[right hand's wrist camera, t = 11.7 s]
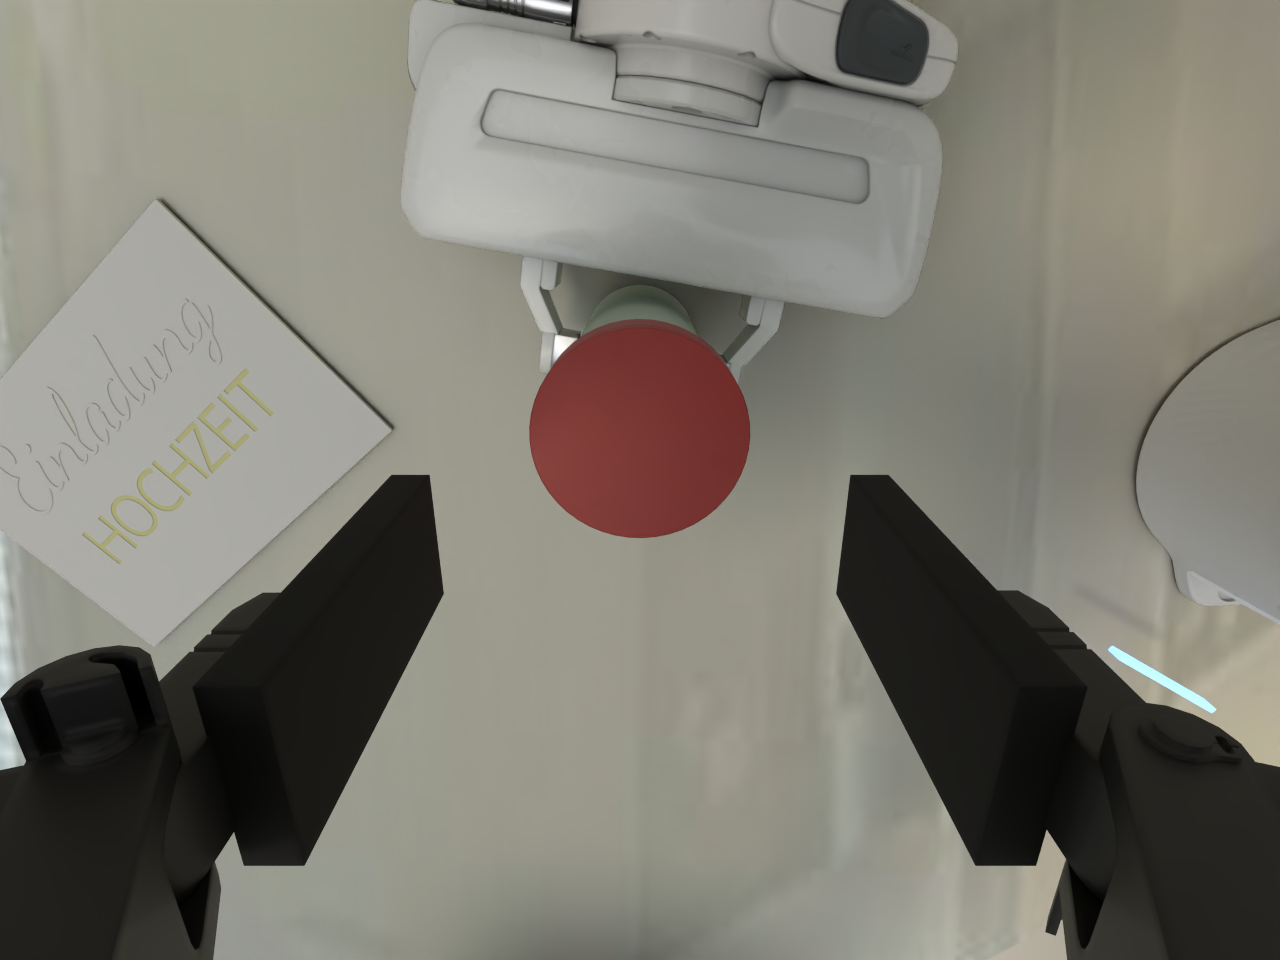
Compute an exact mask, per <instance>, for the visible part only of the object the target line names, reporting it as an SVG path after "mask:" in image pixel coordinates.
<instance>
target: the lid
mask: <svg viewBox="0 0 1280 960" xmlns="http://www.w3.org/2000/svg"><path fill="white" fill-rule="evenodd" d="M529 430H530V446H531V453H532V457H533V460H534V464H535V467H536V470H537V472H538V474H539V476H540V478H541V481H542V482H543V484H544V485H545V487H546V489H547V490H548V492H549V493H550V494H551V496H552V497H553V498H554V499H555V500H556V502H557V503H558V504H559V505H560V506H561V507H562V508H564V509H565V510H566V511H567V512H568V513H569V514H571V515H572V516H573V517H575V518H576V519H577V520H579V521H581V522H583V523H584V524H586V525H588V526H590V527H592V528H595V529H597V530H599V531H602V532H605V533H609V534H612V535H616V536H623V537H631V538H648V537H657V536H662V535H667V534H671V533H674V532H677V531H680V530H683V529H685V528H687V527H689V526H691V525H694V524H695V523H697V522H699V521H700V520H702V519H703V518H705V517H706V516H708V515H709V514H710V513H711V512H713V511H714V510H715V509H716V508H717V507H718V506H719V505H720V504H721V503H722V502H723V501H724V500H725V499H726V498H727V496H728V495H729V494H730V492H731V491H732V489H733V488H734V486H735V485H736V483H737V481H738V479H739V477H740V476H741V473H742V470H743V468H744V465H745V463H746V459H747V455H748V450H749V442H750V422H749V416H748V410H747V406H746V403H745V400H744V397H743V394H742V392H741V390H740V388H739V386H738V384H737V382H736V380H735V378H734V376H733V375H732V373H731V371H730V369H729V368H728V366H727V365H726V363H725V362H724V360H723V359H722V358H721V357H720V356H719V354H718V353H717V352H716V351H715V350H714V349H713V348H712V347H711V346H710V345H709V344H707V343H706V342H705V341H704V340H703V339H701V338H700V337H698V336H697V335H695V334H693V333H692V332H690V331H688V330H686V329H684V328H682V327H679V326H677V325H673V324H670V323H667V322H663V321H657V320H652V319H630V320H621V321H617V322H613V323H609V324H606V325H603V326H601V327H598V328H595V329H594V330H592V331H590V332H588V333H586V334H584V335H583V336H581V337H580V338H579V339H577V340H576V341H574V342H573V343H572V344H571V345H570V346H569V347H568V348H567V349H566V350H564V351H563V352H562V354H561V355H560V356H559V357H558V359H557V360H556V361H555V362H554V364H553V366H552V367H551V369H550V371H549V372H548V374H547V376H546V377H545V379H544V381H543V383H542V385H541V386H540V389H539V391H538V393H537V396H536V398H535V401H534V404H533V408H532V412H531V419H530V427H529Z"/></svg>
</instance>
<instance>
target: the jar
mask: <svg viewBox="0 0 1280 960" xmlns="http://www.w3.org/2000/svg"><path fill="white" fill-rule="evenodd" d="M630 319H652V320H657V321H663V322H667V323H670V324H673V325H677V326H679V327H682V328H684V329H686V330H688V331H690V332H692V333H693V334H695V335H697V332H696V330H695V328H694V326H693V324H692V322H691V319H690V317H689V315H688V313H687V311H686V310H685V308H684V307H683V306H682V304H681V303H680V302H679V301H678V300H677V299H676V298H675V297H674V296H672V295H671V294H669V293H668V292H666V291H664V290H662V289H660V288H657V287H654V286H649V285H631V286H626V287H623V288H620V289H618V290H616V291H614V292H612V293H610V294H609V295H608V296H606V297H605V298H604V299H603V300H602V301H601V302H600V303H599V304H598V305H597V307H596V308H595V310H594V311H593V313H592V315H591V317H590V319H589V321H588V323H587V325H586V328H585V330H584V332H583V334H582V336H583V335H584V334H586V333H588V332H590V331H592V330H594V329H595V328H598V327H601V326H603V325H606V324H609V323H613V322H617V321H621V320H630ZM697 336H698V335H697Z"/></svg>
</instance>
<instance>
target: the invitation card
mask: <svg viewBox="0 0 1280 960" xmlns="http://www.w3.org/2000/svg"><path fill="white" fill-rule="evenodd" d="M392 430H393V429H392V428H391V427H390V426H389V425H388V424H387V423H386V422H385V421H384V420H383V419H382V418H381V417H380V416H379V415H378V414H377V413H376V412H375V411H374V410H373V409H372V408H371V407H370V406H369V405H368V404H367V403H366V402H365V401H364V400H363V399H362V398H361V397H360V396H359V395H358V394H357V393H356V392H355V391H354V390H352V389H351V388H350V387H349V386H348V385H347V384H346V383H345V382H344V381H343V380H342V379H341V378H340V377H339V376H338V375H337V374H336V373H335V372H334V371H333V370H332V369H331V368H330V367H329V366H328V365H327V364H326V363H325V362H324V361H323V360H322V359H321V358H320V357H319V356H318V355H317V354H316V353H315V352H314V351H313V350H312V349H311V348H310V347H309V346H308V345H307V344H306V343H305V342H304V341H303V340H302V339H301V338H300V337H299V336H297V335H296V334H295V333H294V332H293V331H292V330H291V329H290V328H289V327H288V326H287V325H286V324H285V323H284V322H283V321H282V320H281V319H280V318H279V317H278V316H277V315H276V314H275V313H274V312H273V311H272V310H271V309H270V308H269V307H268V306H267V305H266V304H265V303H264V302H263V301H262V300H261V299H260V298H259V297H258V296H257V295H256V294H255V293H254V292H253V291H252V290H251V289H250V288H249V287H248V286H247V285H246V284H245V283H244V282H243V281H241V280H240V279H239V278H238V277H237V276H236V275H235V274H234V273H233V272H232V271H231V270H230V269H229V268H228V267H227V266H226V265H225V264H224V263H223V262H222V261H221V260H220V259H219V258H218V257H217V256H216V255H215V254H214V253H213V252H212V251H211V250H210V249H209V248H208V247H207V246H206V245H205V244H204V243H203V242H202V241H201V240H200V239H199V238H198V237H197V236H196V235H195V234H194V233H193V232H192V231H191V230H190V229H189V228H188V227H186V226H185V225H184V224H183V223H182V222H181V221H180V220H179V219H178V218H177V217H176V216H175V215H174V214H173V213H172V212H171V211H170V210H169V209H168V208H167V207H166V206H165V205H164V204H163V203H162V202H161V201H160V200H159V199H155V200H154V201H153V202H152V203H151V205H150V206H149V207H148V208H147V209H146V210H145V212H144V213H143V214H142V215H141V216H140V217H139V219H138V220H137V221H136V222H135V223H134V224H133V226H132V227H131V228H130V229H129V230H128V231H127V233H126V234H125V235H124V236H123V237H122V238H121V240H120V241H119V242H118V243H117V244H116V245H115V247H114V248H113V249H112V250H111V251H110V252H109V254H108V255H107V256H106V257H105V258H104V259H103V261H102V262H101V263H100V264H99V265H98V266H97V268H96V269H95V270H94V271H93V272H92V273H91V275H90V276H89V277H88V278H87V279H86V280H85V282H84V283H83V284H82V285H81V286H80V287H79V289H78V290H77V291H76V292H75V293H74V294H73V296H72V297H71V298H70V299H69V300H68V301H67V303H66V304H65V305H64V306H63V307H62V308H61V310H60V311H59V312H58V313H57V314H56V315H55V317H54V318H53V319H52V320H51V321H50V322H49V324H48V325H47V326H46V327H45V328H44V329H43V331H42V332H41V333H40V334H39V335H38V336H37V338H36V339H35V340H34V341H33V342H32V343H31V344H30V346H29V347H28V348H27V349H26V350H25V351H24V353H23V354H22V355H21V356H20V357H19V358H18V360H17V361H16V362H15V363H14V364H13V365H12V367H11V368H10V369H9V370H8V371H7V372H6V374H5V375H4V376H3V377H2V378H1V379H0V530H1V531H2V532H4V533H5V534H6V535H8V536H9V537H10V538H12V539H13V540H14V541H15V542H17V543H18V544H19V545H21V546H22V547H23V548H25V549H26V550H27V551H29V552H30V553H31V554H33V555H34V556H35V557H36V558H38V559H39V560H40V561H42V562H43V563H44V564H46V565H47V566H48V567H50V568H51V569H52V570H53V571H55V572H56V573H57V574H59V575H60V576H61V577H63V578H64V579H65V580H67V581H68V582H69V583H70V584H72V585H73V586H74V587H76V588H77V589H78V590H80V591H81V592H82V593H84V594H85V595H86V596H88V597H89V598H90V599H91V600H93V601H94V602H95V603H97V604H98V605H99V606H101V607H102V608H103V609H105V610H106V611H107V612H108V613H110V614H111V615H112V616H114V617H115V618H116V619H118V620H119V621H120V622H122V623H123V624H124V625H125V626H127V627H128V628H129V629H131V630H132V631H133V632H135V633H136V634H137V635H139V636H140V637H141V638H142V639H144V640H145V641H146V642H148V643H149V644H150V645H152V646H153V647H155V646H156V645H157V644H158V643H159V642H160V641H161V640H162V639H163V638H165V637H166V636H167V635H168V634H169V633H170V632H171V631H172V630H173V629H174V628H176V627H177V626H178V625H179V624H180V623H181V622H182V621H183V620H184V619H185V618H187V617H188V616H189V615H190V614H191V613H192V612H193V611H194V610H195V609H196V608H198V607H199V606H200V605H201V604H202V603H203V602H204V601H205V600H206V599H207V598H209V597H210V596H211V595H212V594H213V593H214V592H215V591H216V590H217V589H218V588H220V587H221V586H222V585H223V584H224V583H225V582H226V581H227V580H228V579H229V578H231V577H232V576H233V575H234V574H235V573H236V572H237V571H238V570H239V569H240V568H242V567H243V566H244V565H245V564H246V563H247V562H248V561H249V560H250V559H251V558H253V557H254V556H255V555H256V554H257V553H258V552H259V551H260V550H261V549H262V548H264V547H265V546H266V545H267V544H268V543H269V542H270V541H271V540H272V539H273V538H275V537H276V536H277V535H278V534H279V533H280V532H281V531H282V530H283V529H284V528H286V527H287V526H288V525H289V524H290V523H291V522H292V521H293V520H294V519H295V518H297V517H298V516H299V515H300V514H301V513H302V512H303V511H304V510H305V509H306V508H308V507H309V506H310V505H311V504H312V503H313V502H314V501H315V500H316V499H317V498H319V497H320V496H321V495H322V494H323V493H324V492H325V491H326V490H327V489H328V488H330V487H331V486H332V485H333V484H334V483H335V482H336V481H337V480H338V479H339V478H341V477H342V476H343V475H344V474H345V473H346V472H347V471H348V470H349V469H350V468H352V467H353V466H354V465H355V464H356V463H357V462H358V461H359V460H360V459H361V458H363V457H364V456H365V455H366V454H367V453H368V452H369V451H370V450H371V449H372V448H374V447H375V446H376V445H377V444H378V443H379V442H380V441H381V440H382V439H383V438H385V437H386V436H387V435H388V434H389V433H390V432H391V431H392Z"/></svg>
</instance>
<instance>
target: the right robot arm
mask: <svg viewBox="0 0 1280 960" xmlns="http://www.w3.org/2000/svg"><path fill="white" fill-rule="evenodd" d="M443 594H444V592H443V584H442V575H441V567H440V559H439V550H438V542H437V534H436V525H435V517H434V509H433V500H432V492H431V484H430V475H391V476H390V477H389V478H388V479H387V480H386V481H385V483H384V484H383V485H382V486H381V487H380V488H379V489H378V490H377V491H376V492H375V493H374V494H373V495H372V496H371V497H370V498H369V500H368V501H367V502H366V503H365V504H364V505H363V506H362V507H361V508H360V509H359V510H358V511H357V512H356V513H355V514H354V515H353V517H352V518H351V519H350V520H349V521H348V522H347V523H346V524H345V525H344V526H343V527H342V528H341V529H340V530H339V531H338V533H337V534H336V535H335V536H334V537H333V538H332V539H331V540H330V541H329V542H328V543H327V544H326V545H325V546H324V547H323V548H322V550H321V551H320V552H319V553H318V554H317V555H316V556H315V557H314V558H313V559H312V560H311V561H310V562H309V563H308V564H307V565H306V567H305V568H304V569H303V570H302V571H301V572H300V573H299V574H298V575H297V576H296V577H295V578H294V579H293V580H292V581H291V583H290V584H289V585H288V586H287V587H286V588H285V589H284V590H283V591H282V592H281V593H262V594H260V595H258V596H256V597H255V598H253V599H251V600H249V601H248V602H246V603H244V604H242V605H240V606H239V607H237V608H235V609H233V610H232V611H231V612H230V613H229V614H228V615H227V616H226V617H225V618H224V619H223V620H222V621H221V622H220V623H219V624H218V625H217V626H216V627H215V628H214V629H213V630H212V633H211V635H206V636H205V637H204V638H203V639H202V640H201V641H200V642H199V643H198V644H197V645H196V646H195V647H194V652H189V653H188V654H187V655H186V656H185V657H184V658H183V659H182V660H181V661H180V662H179V663H178V664H177V665H176V666H175V667H174V668H173V669H172V670H171V671H170V672H169V673H168V674H167V675H166V676H165V677H164V678H163V679H161V680H160V681H158V678H157V674H156V671H155V668H154V665H153V661H152V658H151V655H150V654H149V653H147V652H146V651H144V650H142V649H141V648H139V647H130V646H120V645H119V646H111V647H102V648H94V649H91V650H87V651H83V652H80V653H76V654H73V655H69V656H66V657H63V658H61V659H59V660H57V661H54V662H52V663H50V664H47V665H45V666H43V667H40V668H38V669H37V670H35V671H33V672H32V673H30V674H29V675H27V676H26V677H24V678H22V679H21V680H19V681H18V682H16V683H15V684H14V685H13V686H12V687H11V688H10V689H9V690H8V691H7V692H6V693H5V694H4V695H3V696H2V698H1V702H2V704H3V706H4V709H5V711H6V714H7V716H8V718H9V721H10V723H11V726H12V728H13V730H14V733H15V735H16V738H17V740H18V742H19V745H20V747H21V750H22V752H23V754H24V757H25V759H26V763H25V765H23V766H19V767H14V768H9V769H4V770H0V960H213V955H214V946H215V937H216V929H217V920H218V911H219V902H220V894H221V885H220V880H219V874H218V871H217V868H216V864H215V860H216V858H217V857H218V855H219V854H220V852H221V851H222V849H223V848H224V846H225V845H226V843H227V842H228V840H229V839H230V837H231V836H232V834H233V832H234V833H235V836H236V840H237V843H238V847H239V850H240V854H241V857H242V861H243V864H244V866H304V865H305V863H306V862H307V860H308V858H309V856H310V854H311V852H312V850H313V848H314V846H315V844H316V842H317V840H318V838H319V836H320V834H321V832H322V830H323V828H324V826H325V824H326V822H327V821H328V819H329V817H330V815H331V813H332V811H333V809H334V807H335V805H336V803H337V801H338V799H339V797H340V795H341V793H342V791H343V789H344V787H345V785H346V783H347V782H348V780H349V778H350V776H351V774H352V772H353V770H354V768H355V766H356V764H357V762H358V760H359V758H360V756H361V754H362V752H363V750H364V748H365V746H366V744H367V742H368V741H369V739H370V737H371V735H372V733H373V731H374V729H375V727H376V725H377V723H378V721H379V719H380V717H381V715H382V713H383V711H384V709H385V707H386V705H387V703H388V701H389V700H390V698H391V696H392V694H393V692H394V690H395V688H396V686H397V684H398V682H399V680H400V678H401V676H402V674H403V672H404V670H405V668H406V666H407V664H408V662H409V661H410V659H411V657H412V655H413V653H414V651H415V649H416V647H417V645H418V643H419V641H420V639H421V637H422V635H423V633H424V631H425V629H426V627H427V625H428V623H429V621H430V620H431V618H432V616H433V614H434V612H435V610H436V608H437V606H438V604H439V602H440V600H441V598H442V596H443ZM836 594H837V596H838V598H839V600H840V602H841V604H842V606H843V608H844V610H845V612H846V614H847V616H848V618H849V620H850V621H851V623H852V625H853V627H854V629H855V631H856V633H857V635H858V637H859V639H860V641H861V643H862V645H863V647H864V649H865V651H866V653H867V655H868V657H869V659H870V661H871V662H872V664H873V666H874V668H875V670H876V672H877V674H878V676H879V678H880V680H881V682H882V684H883V686H884V688H885V690H886V692H887V694H888V696H889V698H890V700H891V701H892V703H893V705H894V707H895V709H896V711H897V713H898V715H899V717H900V719H901V721H902V723H903V725H904V727H905V729H906V731H907V733H908V735H909V737H910V739H911V741H912V742H913V744H914V746H915V748H916V750H917V752H918V754H919V756H920V758H921V760H922V762H923V764H924V766H925V768H926V770H927V772H928V774H929V776H930V778H931V780H932V782H933V783H934V785H935V787H936V789H937V791H938V793H939V795H940V797H941V799H942V801H943V803H944V805H945V807H946V809H947V811H948V813H949V815H950V817H951V819H952V821H953V822H954V824H955V826H956V828H957V830H958V832H959V834H960V836H961V838H962V840H963V842H964V844H965V846H966V848H967V850H968V852H969V854H970V856H971V858H972V860H973V862H974V863H975V865H976V866H1036V864H1037V861H1038V857H1039V854H1040V850H1041V847H1042V843H1043V840H1044V836H1045V833H1046V830H1048V832H1049V833H1050V835H1051V836H1052V838H1053V840H1054V841H1055V843H1056V844H1057V846H1058V847H1059V849H1060V850H1061V852H1062V853H1063V855H1064V856H1065V858H1066V861H1065V864H1064V868H1063V871H1062V874H1061V877H1060V880H1059V884H1058V887H1057V890H1056V893H1055V896H1054V900H1053V903H1052V906H1051V909H1050V913H1049V916H1048V920H1047V926H1046V932H1047V933H1050V934H1052V935H1056V933H1057V930H1058V927H1059V924H1060V921H1061V920H1062V919H1063V926H1064V935H1065V944H1066V953H1067V960H1280V767H1277V766H1272V765H1267V764H1262V763H1257V762H1255V761H1254V760H1253V758H1252V757H1251V756H1250V755H1249V753H1248V752H1247V751H1246V750H1245V748H1244V747H1243V746H1242V744H1241V743H1239V742H1238V741H1237V740H1235V739H1234V738H1233V737H1231V736H1230V735H1229V734H1227V733H1226V732H1225V731H1223V730H1222V729H1221V728H1219V727H1217V726H1215V725H1213V724H1211V723H1209V722H1207V721H1205V720H1203V719H1201V718H1199V717H1197V716H1195V715H1193V714H1190V713H1187V712H1184V711H1181V710H1178V709H1175V708H1172V707H1169V706H1164V705H1157V704H1150V703H1146V702H1145V701H1144V700H1143V699H1142V698H1140V697H1139V696H1138V695H1137V694H1136V693H1135V692H1134V691H1133V690H1132V689H1131V688H1130V687H1129V686H1128V685H1127V684H1126V683H1125V682H1124V681H1123V680H1122V679H1121V678H1120V677H1119V676H1118V675H1117V674H1116V673H1115V672H1114V671H1113V670H1112V669H1111V668H1110V667H1109V666H1108V665H1107V664H1106V663H1105V662H1103V661H1102V660H1101V659H1100V658H1099V657H1098V656H1097V655H1096V654H1095V653H1094V652H1093V651H1092V650H1091V649H1087V647H1086V644H1085V643H1084V642H1083V641H1082V640H1081V639H1080V638H1079V637H1078V636H1077V635H1076V634H1075V633H1074V632H1069V627H1067V626H1066V625H1065V624H1064V623H1063V622H1062V621H1061V620H1060V619H1059V618H1058V617H1057V616H1056V615H1055V614H1054V613H1053V612H1052V611H1051V610H1050V609H1049V608H1048V607H1046V606H1044V605H1042V604H1041V603H1039V602H1037V601H1035V600H1034V599H1032V598H1030V597H1028V596H1026V595H1025V594H1023V593H1021V592H1019V591H997V590H996V589H995V588H994V587H993V586H992V585H991V584H990V583H989V581H988V580H987V579H986V578H985V577H984V576H983V575H982V574H981V573H980V572H979V571H978V570H977V569H976V568H975V567H974V565H973V564H972V563H971V562H970V561H969V560H968V559H967V558H966V557H965V556H964V555H963V554H962V553H961V552H960V551H959V550H958V548H957V547H956V546H955V545H954V544H953V543H952V542H951V541H950V540H949V539H948V538H947V537H946V536H945V535H944V534H943V533H942V531H941V530H940V529H939V528H938V527H937V526H936V525H935V524H934V523H933V522H932V521H931V520H930V519H929V518H928V517H927V515H926V514H925V513H924V512H923V511H922V510H921V509H920V508H919V507H918V506H917V505H916V504H915V503H914V502H913V501H912V500H911V498H910V497H909V496H908V495H907V494H906V493H905V492H904V491H903V490H902V489H901V488H900V487H899V486H898V485H897V484H896V483H895V481H894V480H893V479H892V478H891V477H890V476H889V475H850V484H849V492H848V500H847V509H846V517H845V525H844V534H843V542H842V550H841V559H840V567H839V575H838V584H837V592H836Z"/></svg>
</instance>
